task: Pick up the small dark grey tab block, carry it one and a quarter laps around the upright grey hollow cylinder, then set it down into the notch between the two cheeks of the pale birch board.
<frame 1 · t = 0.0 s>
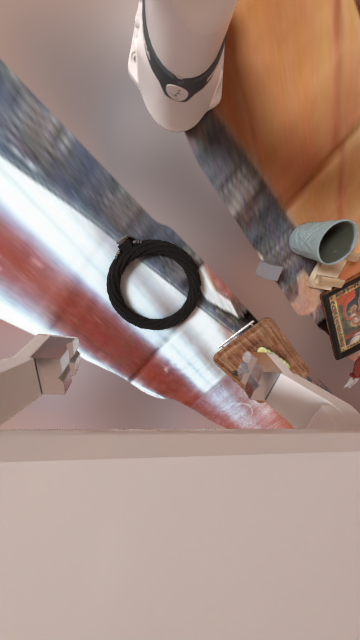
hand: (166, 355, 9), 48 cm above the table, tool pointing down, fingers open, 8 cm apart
tab: (263, 268, 58), on the table
grey hollow cylinder: (302, 239, 55), on the table
notch board: (326, 266, 60), on the table
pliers: (355, 368, 86), on the table
cable lock: (153, 284, 57), on the table
chopping board: (262, 364, 78), on the table
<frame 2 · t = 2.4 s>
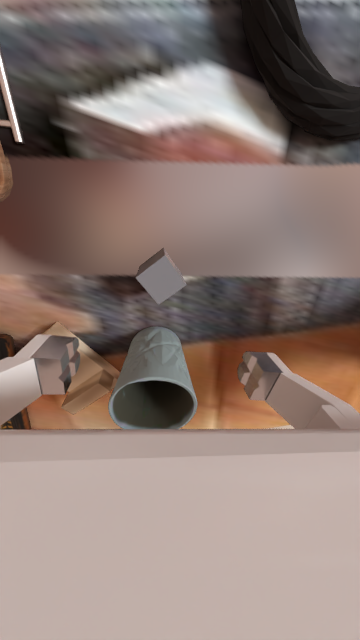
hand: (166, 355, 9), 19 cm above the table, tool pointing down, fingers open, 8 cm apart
tab: (160, 269, 26), on the table
grey hollow cylinder: (154, 347, 32), on the table
notch board: (76, 362, 32), on the table
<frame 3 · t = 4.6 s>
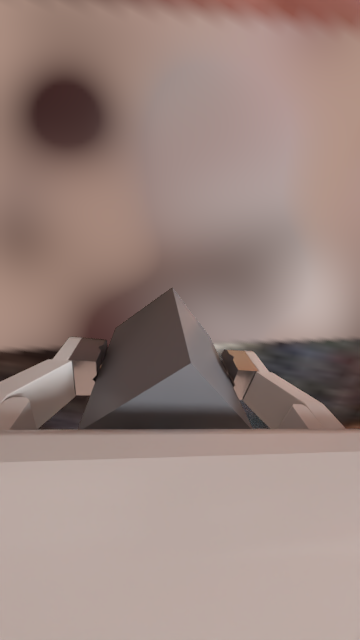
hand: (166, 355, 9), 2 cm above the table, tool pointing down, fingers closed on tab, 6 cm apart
tab: (164, 332, 11), on the table, touching gripper
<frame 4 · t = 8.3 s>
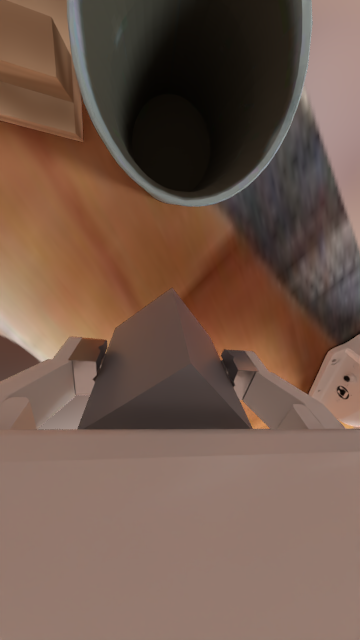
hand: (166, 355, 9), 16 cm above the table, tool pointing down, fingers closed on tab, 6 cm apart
tab: (164, 332, 11), point 14 cm above the table, touching gripper
grey hollow cylinder: (171, 152, 18), on the table
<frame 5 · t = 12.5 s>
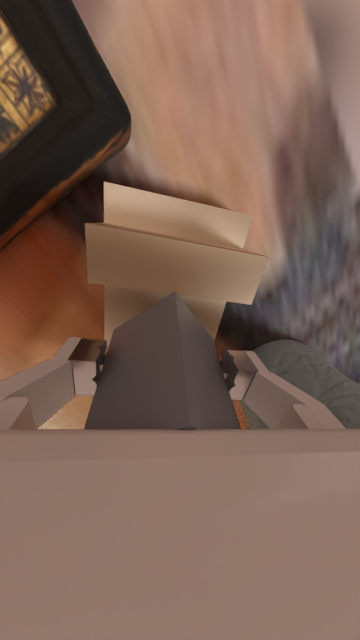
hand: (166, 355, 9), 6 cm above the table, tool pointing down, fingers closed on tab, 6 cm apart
tab: (165, 334, 11), point 5 cm above the table, tilted 11°, touching gripper, notch board
grey hollow cylinder: (269, 370, 20), on the table
notch board: (164, 306, 15), on the table
when the fingers open (6 cm above the table, at t = 13.0 s): tab stays where it is, resting on notch board.
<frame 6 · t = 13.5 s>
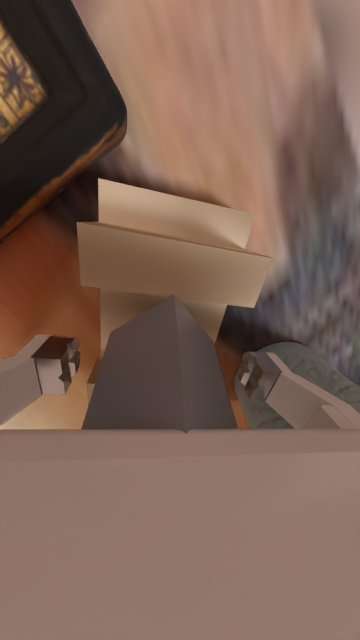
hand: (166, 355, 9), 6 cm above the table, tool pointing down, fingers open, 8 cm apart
tab: (164, 337, 10), point 4 cm above the table, tilted 13°, touching notch board
grey hollow cylinder: (270, 373, 19), on the table
notch board: (162, 308, 14), on the table
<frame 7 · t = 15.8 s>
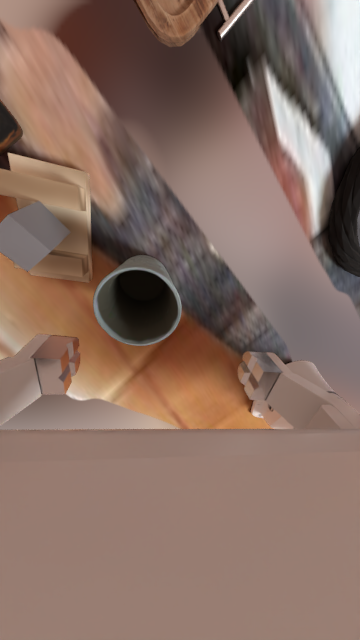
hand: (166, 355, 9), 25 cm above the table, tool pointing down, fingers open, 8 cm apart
tab: (45, 227, 23), point 4 cm above the table, tilted 13°, touching notch board
grey hollow cylinder: (142, 279, 32), on the table
notch board: (61, 227, 27), on the table
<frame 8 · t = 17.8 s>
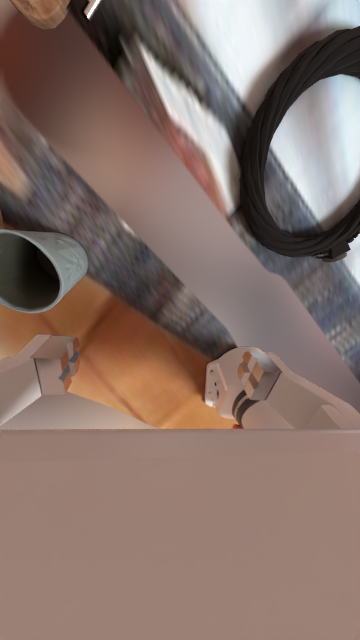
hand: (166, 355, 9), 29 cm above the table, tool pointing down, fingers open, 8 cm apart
grey hollow cylinder: (61, 258, 33), on the table
cable lock: (315, 178, 32), on the table
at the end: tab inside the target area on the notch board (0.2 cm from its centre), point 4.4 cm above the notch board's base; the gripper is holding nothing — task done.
